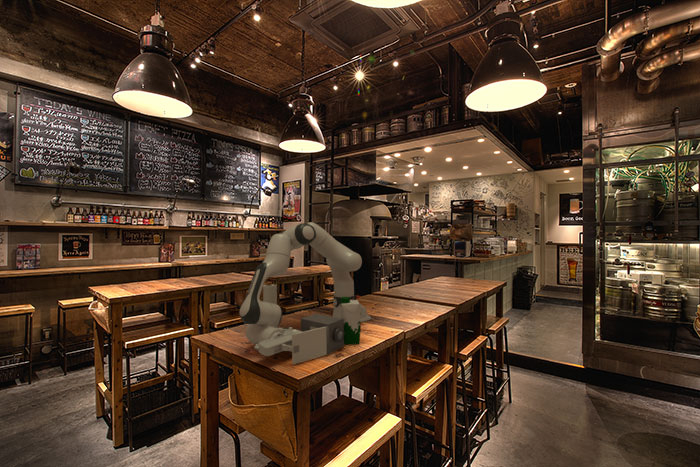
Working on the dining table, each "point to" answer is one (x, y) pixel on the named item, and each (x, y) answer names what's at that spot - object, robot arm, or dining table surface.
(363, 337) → the dining table surface
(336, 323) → the box
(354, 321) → the milk carton
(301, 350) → the side door
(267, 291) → the paper towel roll
